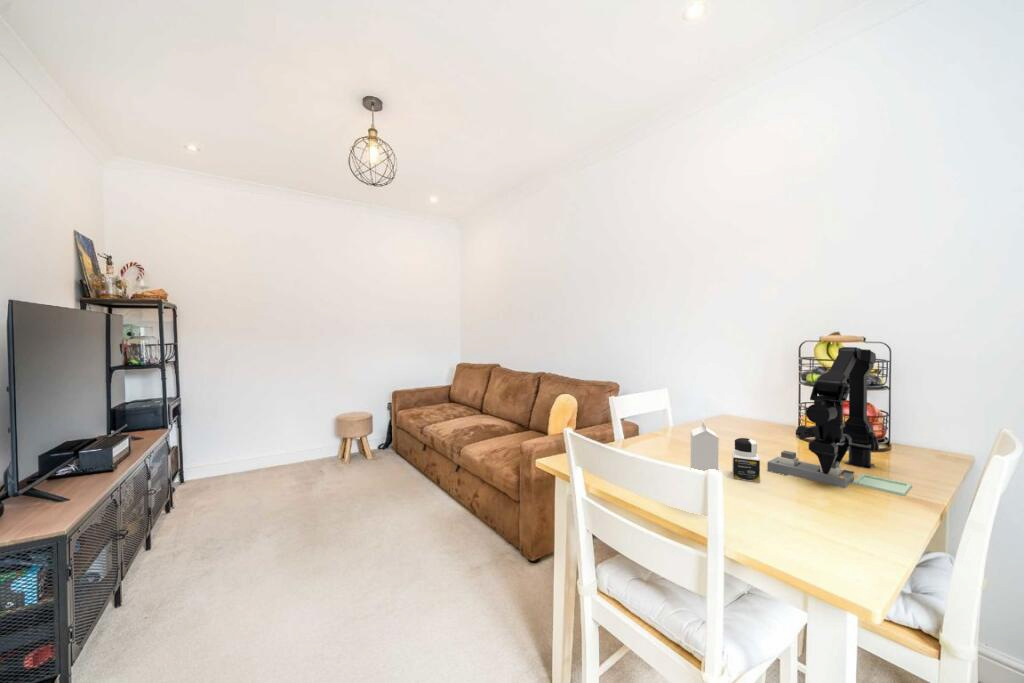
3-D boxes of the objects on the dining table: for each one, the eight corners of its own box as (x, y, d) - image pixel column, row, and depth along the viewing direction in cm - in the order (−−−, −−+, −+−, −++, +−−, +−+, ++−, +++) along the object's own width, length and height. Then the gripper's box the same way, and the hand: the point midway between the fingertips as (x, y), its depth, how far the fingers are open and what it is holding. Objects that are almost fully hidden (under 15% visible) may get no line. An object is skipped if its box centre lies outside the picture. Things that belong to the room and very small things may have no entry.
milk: (693, 507, 103) (692, 424, 102) (690, 498, 109) (689, 419, 108) (719, 510, 101) (718, 425, 100) (714, 501, 107) (714, 420, 106)
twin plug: (783, 468, 132) (783, 449, 132) (798, 472, 128) (798, 452, 128) (778, 471, 129) (778, 452, 129) (793, 475, 126) (793, 455, 126)
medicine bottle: (733, 479, 123) (733, 440, 123) (732, 471, 129) (732, 435, 129) (759, 482, 119) (760, 443, 119) (757, 475, 126) (757, 438, 126)
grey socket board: (778, 465, 135) (778, 455, 135) (854, 482, 119) (854, 471, 119) (767, 470, 130) (767, 460, 130) (845, 489, 113) (845, 478, 113)
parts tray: (862, 477, 123) (862, 473, 123) (911, 488, 114) (911, 484, 114) (852, 485, 117) (852, 481, 116) (904, 497, 108) (904, 493, 108)
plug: (824, 478, 123) (824, 458, 123) (841, 482, 119) (841, 461, 119) (820, 481, 120) (820, 460, 120) (837, 485, 117) (837, 464, 117)
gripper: (809, 411, 132) (809, 458, 132) (788, 419, 120) (788, 469, 121) (852, 417, 123) (852, 466, 123) (834, 425, 112) (833, 480, 112)
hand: (830, 470), depth 120 cm, fingers open, 9 cm apart
